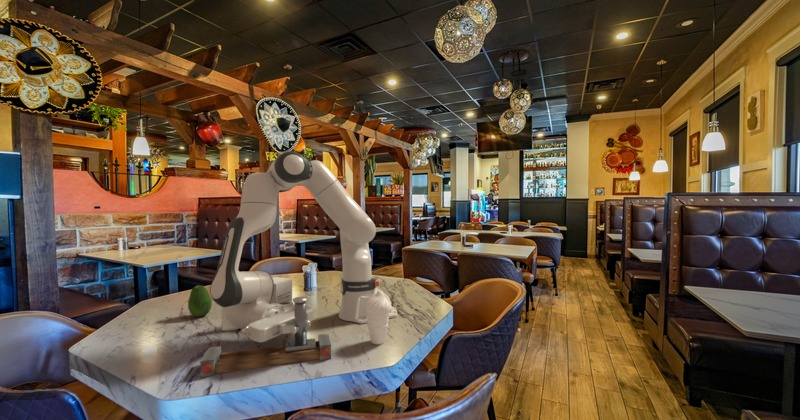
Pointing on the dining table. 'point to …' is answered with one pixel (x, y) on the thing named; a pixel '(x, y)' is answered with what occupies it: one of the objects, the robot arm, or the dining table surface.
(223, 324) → the eye dropper bottle
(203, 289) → the avocado
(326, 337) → the rail
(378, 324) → the soft serve ice cream cone
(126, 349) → the dining table surface
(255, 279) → the robot arm
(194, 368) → the dining table surface
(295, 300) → the carriage
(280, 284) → the supplement box
